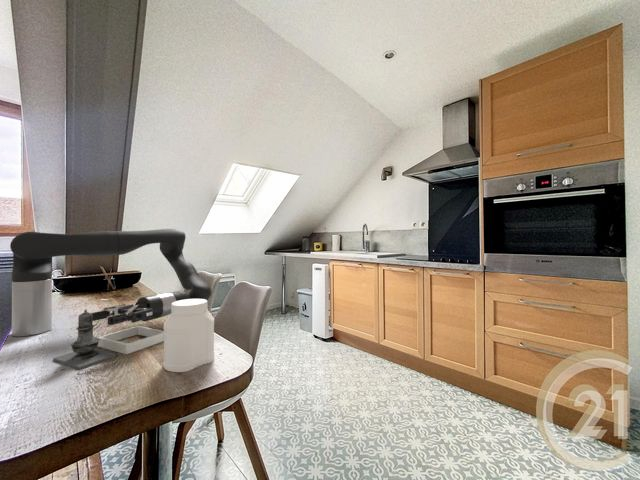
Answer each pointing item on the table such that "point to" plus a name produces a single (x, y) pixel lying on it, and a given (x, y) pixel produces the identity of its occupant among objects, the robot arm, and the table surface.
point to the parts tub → (113, 344)
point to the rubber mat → (84, 363)
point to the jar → (188, 336)
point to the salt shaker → (85, 338)
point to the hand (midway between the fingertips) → (99, 319)
